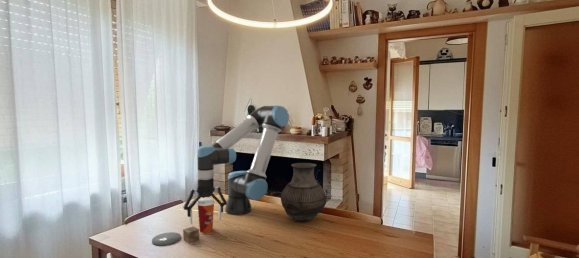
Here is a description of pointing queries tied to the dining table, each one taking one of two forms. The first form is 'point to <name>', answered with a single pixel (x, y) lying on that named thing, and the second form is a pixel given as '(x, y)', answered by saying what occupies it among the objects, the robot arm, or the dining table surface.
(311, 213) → the vase
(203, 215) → the coffee cup
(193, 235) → the walnut cube
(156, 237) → the slate coaster
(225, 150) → the robot arm
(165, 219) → the dining table surface
